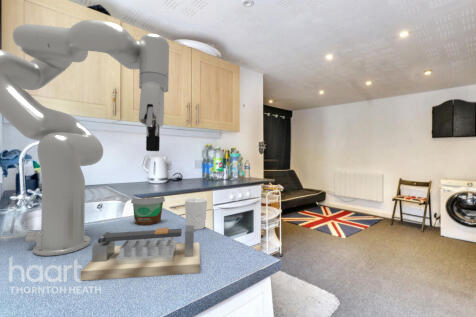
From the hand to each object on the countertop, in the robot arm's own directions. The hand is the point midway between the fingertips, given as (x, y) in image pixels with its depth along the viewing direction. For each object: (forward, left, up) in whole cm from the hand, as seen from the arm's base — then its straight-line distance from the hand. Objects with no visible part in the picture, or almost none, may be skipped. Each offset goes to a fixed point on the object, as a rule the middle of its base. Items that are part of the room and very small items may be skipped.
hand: (152, 150), depth 63 cm
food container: (-6, +25, -27) cm, 38 cm away
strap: (-1, -8, -21) cm, 22 cm away
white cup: (+12, +19, -27) cm, 35 cm away
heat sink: (0, -8, -25) cm, 26 cm away
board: (+1, -8, -27) cm, 28 cm away
